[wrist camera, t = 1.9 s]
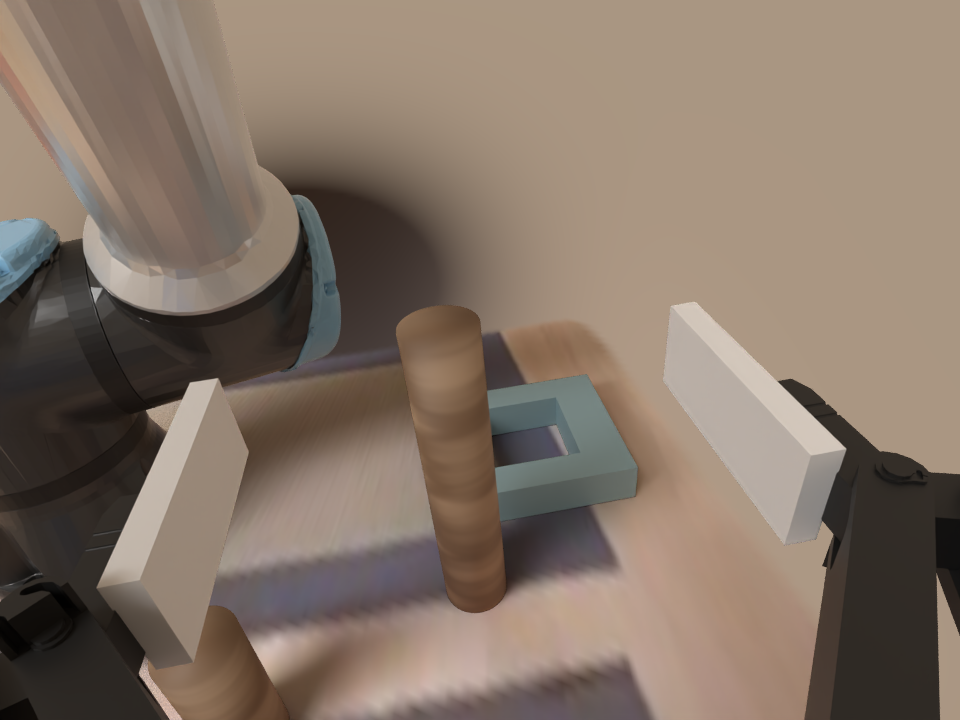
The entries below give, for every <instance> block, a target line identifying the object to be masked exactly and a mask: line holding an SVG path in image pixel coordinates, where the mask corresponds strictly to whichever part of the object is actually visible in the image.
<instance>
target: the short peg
mask: <svg viewBox="0 0 960 720" xmlns="http://www.w3.org/2000/svg"><path fill="white" fill-rule="evenodd" d="M148 671H149V674H150V677H151V678H152V680H153V681H154V682H155V684H156V685H157V686H158V688H159V689H160V690H161V691H162V693H163V694H164V695H165V697H166V698H167V699H168V701H169V702H170V703H171V705H172V706H173V707H174V709H175V710H176V711H177V712H178V714H179V715H180V716H181V718H182V719H183V720H290V718H289V714H288V711H287V709H286V707H285V706H284V704H283V702H282V700H281V698H280V696H279V695H278V693H277V691H276V689H275V687H274V686H273V684H272V682H271V680H270V678H269V676H268V675H267V673H266V671H265V669H264V667H263V666H262V664H261V662H260V660H259V658H258V656H257V655H256V653H255V651H254V649H253V647H252V646H251V644H250V642H249V640H248V638H247V636H246V635H245V633H244V631H243V629H242V627H241V626H240V624H239V622H238V620H237V618H236V617H235V615H234V614H233V613H232V612H231V611H230V610H228V609H227V608H224V607H221V606H208V610H207V613H206V617H205V621H204V625H203V629H202V633H201V636H200V640H199V644H198V648H197V652H196V655H195V659H194V662H193V663H188V664H183V665H178V666H173V667H168V668H163V669H158V670H156V669H155V668H154V666H153V665H152V664H151V662H150V661H149V660H148Z"/></svg>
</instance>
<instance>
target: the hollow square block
mask: <svg viewBox="0 0 960 720" xmlns="http://www.w3.org/2000/svg"><path fill="white" fill-rule="evenodd" d="M487 394H488V404H489V414H490V424H491V434H492V435H498V434H504V433H509V432H515V431H521V430H527V429H533V428H538V427H544V426H550V425H556V424H557V427H558V429H559V432H560V434H561V436H562V439H563V441H564V444H565V446H566V448H567V451H568V453H569V455H564V456H559V457H553V458H547V459H542V460H536V461H530V462H525V463H519V464H514V465H508V466H502V467H497V468H495V473H496V483H497V493H498V503H499V513H500V522H501V521H506V520H511V519H517V518H522V517H528V516H533V515H539V514H544V513H549V512H555V511H560V510H566V509H571V508H576V507H582V506H587V505H593V504H598V503H603V502H609V501H614V500H620V499H625V498H630V497H635V496H636V484H637V473H638V467H637V465H636V463H635V461H634V460H633V458H632V456H631V454H630V452H629V450H628V449H627V447H626V445H625V443H624V441H623V439H622V438H621V436H620V434H619V432H618V430H617V428H616V427H615V425H614V423H613V421H612V419H611V417H610V416H609V414H608V412H607V410H606V408H605V407H604V405H603V403H602V401H601V399H600V397H599V396H598V394H597V392H596V390H595V388H594V386H593V385H592V383H591V381H590V379H589V377H588V375H587V374H585V375H579V376H573V377H567V378H561V379H555V380H549V381H543V382H537V383H531V384H525V385H519V386H513V387H507V388H501V389H495V390H489V391H487Z"/></svg>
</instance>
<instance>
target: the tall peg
mask: <svg viewBox="0 0 960 720" xmlns="http://www.w3.org/2000/svg"><path fill="white" fill-rule="evenodd" d="M396 336H397V341H398V346H399V351H400V356H401V361H402V366H403V371H404V377H405V382H406V387H407V392H408V397H409V402H410V407H411V412H412V417H413V422H414V427H415V433H416V438H417V443H418V448H419V453H420V458H421V463H422V468H423V473H424V478H425V483H426V489H427V494H428V499H429V504H430V509H431V514H432V519H433V524H434V529H435V534H436V540H437V545H438V550H439V555H440V560H441V565H442V570H443V575H444V580H445V585H446V590H447V595H448V598H449V599H450V601H451V602H452V604H453V605H454V606H455V607H457V608H458V609H460V610H462V611H465V612H469V613H480V612H484V611H487V610H490V609H491V608H493V607H495V606H496V605H497V604H498V603H499V602H500V601H501V600H502V598H503V597H504V594H505V592H506V587H507V582H506V572H505V562H504V553H503V543H502V533H501V523H500V513H499V503H498V493H497V483H496V473H495V464H494V454H493V444H492V434H491V424H490V414H489V404H488V394H487V384H486V375H485V365H484V355H483V345H482V335H481V325H480V319H479V317H478V316H477V314H476V313H474V312H473V311H471V310H469V309H467V308H464V307H460V306H452V305H442V306H433V307H428V308H424V309H421V310H418V311H415V312H413V313H411V314H410V315H408V316H406V317H405V318H403V320H402V321H400V323H399V324H398V326H397V328H396Z"/></svg>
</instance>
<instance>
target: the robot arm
mask: <svg viewBox="0 0 960 720" xmlns="http://www.w3.org/2000/svg"><path fill="white" fill-rule="evenodd" d="M0 84H1V85H2V87H3V88H4V90H5V91H6V92H7V94H8V96H9V97H10V98H11V100H12V102H13V103H14V104H15V106H16V107H17V109H18V110H19V112H20V113H21V115H22V116H23V118H24V119H25V121H26V122H27V124H28V125H29V126H30V128H31V129H32V131H33V132H34V134H35V135H36V137H37V138H38V140H39V141H40V142H41V144H42V145H43V147H44V148H45V150H46V151H47V153H48V154H49V156H50V157H51V159H52V160H53V162H54V163H55V165H56V166H57V168H58V169H59V171H60V172H61V173H62V175H63V176H64V178H65V179H66V181H67V182H68V184H69V185H70V187H71V188H72V189H73V191H74V192H75V194H76V196H77V197H78V198H79V200H80V201H81V203H82V204H83V206H84V207H85V209H86V210H87V212H88V213H89V214H88V216H87V219H86V221H85V226H84V230H83V238H82V239H78V240H72V241H67V242H61V241H59V239H60V237H59V235H58V233H57V232H56V230H54V229H51V228H50V226H49V225H48V224H47V223H46V222H45V221H42V220H40V219H35V218H25V219H23V220H16V219H14V220H7V221H3V222H0V599H1V602H0V651H1V652H2V653H0V720H170V719H169V718H168V716H167V715H166V713H165V712H164V711H163V709H162V708H161V706H160V705H159V703H158V702H157V700H156V699H155V697H154V696H153V694H152V693H151V691H150V690H149V688H148V687H147V685H146V684H145V682H144V681H143V680H142V678H141V677H140V676H139V671H140V668H141V665H142V662H143V659H144V656H145V655H146V657H147V658H148V660H149V661H150V662H151V664H152V665H153V666H154V668H155V669H156V670H158V669H163V668H168V667H173V666H178V665H183V664H188V663H193V662H194V659H195V655H196V652H197V648H198V644H199V640H200V636H201V633H202V629H203V625H204V621H205V617H206V613H207V610H208V606H209V602H210V598H211V594H212V591H213V587H214V583H215V579H216V575H217V572H218V568H219V564H220V560H221V556H222V552H223V549H224V545H225V541H226V537H227V533H228V530H229V526H230V522H231V518H232V514H233V511H234V507H235V503H236V499H237V495H238V491H239V488H240V484H241V480H242V476H243V472H244V469H245V465H246V461H247V457H248V453H249V451H248V449H247V446H246V444H245V442H244V439H243V437H242V434H241V432H240V429H239V427H238V425H237V422H236V420H235V417H234V415H233V412H232V410H231V408H230V405H229V403H228V400H227V398H226V396H225V393H224V391H223V387H226V386H230V385H233V384H237V383H240V382H244V381H247V380H250V379H254V378H257V377H261V376H264V375H268V374H271V373H274V372H278V371H281V372H287V371H292V370H294V369H296V368H297V367H298V366H300V365H301V364H304V363H307V362H310V361H313V360H315V359H318V358H321V357H324V356H325V355H327V354H328V353H330V352H331V351H332V349H333V348H334V346H335V345H336V343H337V341H338V338H339V333H340V326H341V314H340V313H341V310H340V299H339V293H338V290H337V287H336V285H335V281H336V275H335V267H334V262H333V258H332V254H331V250H330V246H329V243H328V239H327V236H326V233H325V230H324V227H323V225H322V222H321V220H320V218H319V215H318V213H317V211H316V209H315V208H314V206H313V204H312V203H311V202H310V201H309V200H308V199H307V198H306V197H303V196H301V195H290V194H289V192H288V191H287V189H286V188H285V187H284V186H283V184H282V183H281V181H279V180H278V179H277V178H276V177H275V176H274V175H273V174H271V173H270V172H268V171H267V170H265V169H264V168H262V167H260V166H258V164H257V160H256V156H255V153H254V150H253V145H252V142H251V138H250V134H249V131H248V127H247V123H246V119H245V116H244V112H243V108H242V104H241V101H240V97H239V94H238V90H237V86H236V82H235V79H234V75H233V71H232V68H231V64H230V60H229V56H228V53H227V49H226V45H225V41H224V38H223V34H222V31H221V27H220V23H219V19H218V16H217V12H216V8H215V4H214V1H213V0H0ZM663 382H664V383H665V384H666V386H667V387H668V389H669V390H670V391H671V393H672V394H673V395H674V397H675V398H676V399H677V401H678V402H679V403H680V405H681V406H682V407H683V409H684V410H685V412H686V413H687V414H688V416H689V417H690V418H691V420H692V421H693V422H694V424H695V425H696V426H697V428H698V429H699V430H700V432H701V433H702V434H703V436H704V437H705V439H706V440H707V441H708V443H709V444H710V445H711V447H712V448H713V449H714V451H715V452H716V454H717V455H718V456H719V457H720V459H721V460H722V462H723V463H724V464H725V466H726V467H727V468H728V470H729V471H730V472H731V474H732V475H733V476H734V478H735V479H736V481H737V482H738V483H739V485H740V486H741V487H742V489H743V490H744V491H745V493H746V494H747V495H748V497H749V498H750V499H751V501H752V502H753V504H754V505H755V506H756V508H757V509H758V510H759V512H760V513H761V514H762V516H763V517H764V518H765V520H766V521H767V522H768V524H769V525H770V526H771V528H772V529H773V531H774V532H775V533H776V534H777V536H778V537H779V539H780V540H781V541H782V543H783V544H784V545H790V544H795V543H799V542H805V541H809V540H815V539H816V538H817V535H818V532H819V529H820V526H821V523H822V521H823V522H824V523H825V524H826V526H827V527H828V528H829V529H830V530H831V531H832V533H833V534H834V535H833V538H832V540H831V544H830V546H829V549H828V552H827V554H826V558H825V560H824V563H823V565H822V566H824V567H827V569H826V577H825V583H824V590H823V597H822V604H821V610H820V617H819V624H818V631H817V638H816V645H815V651H814V658H813V665H812V672H811V679H810V686H809V692H808V699H807V706H806V713H805V720H940V703H939V662H938V623H937V622H938V621H937V579H936V573H937V575H938V578H939V581H940V583H941V586H942V589H943V591H944V594H945V597H946V600H947V602H948V605H949V607H950V610H951V613H952V616H953V619H954V621H955V624H956V627H957V629H958V632H959V634H960V474H946V473H931V472H928V471H927V470H926V469H925V468H924V466H922V465H921V464H919V463H917V462H916V461H914V460H913V459H911V458H908V457H905V456H903V455H900V454H897V453H890V452H884V451H882V452H880V451H879V450H877V449H876V448H875V447H874V446H873V445H872V444H871V443H870V442H869V441H868V440H867V439H865V438H864V437H863V436H862V435H861V434H860V433H859V432H858V431H857V430H856V429H855V428H853V427H852V426H851V425H850V424H849V423H848V422H847V421H846V420H845V419H844V418H842V417H841V416H840V415H837V412H836V411H835V410H834V409H833V408H831V406H829V405H826V404H825V401H824V400H823V399H822V398H821V397H820V396H819V395H817V394H816V393H815V392H814V391H813V390H812V389H810V388H808V387H807V386H805V385H803V384H801V383H799V382H797V381H795V380H793V379H788V380H782V381H776V380H775V379H774V378H773V377H772V376H771V375H770V374H769V373H768V372H767V371H766V370H765V369H764V368H763V367H762V366H761V365H760V364H759V363H758V362H757V361H756V360H755V359H754V358H753V357H751V355H749V353H748V352H746V351H745V350H744V349H743V348H742V347H741V346H740V345H739V344H738V343H737V342H736V341H735V340H734V339H733V338H732V337H731V336H730V335H729V334H728V333H727V332H726V331H725V330H724V329H723V328H722V327H721V326H720V325H719V324H718V323H717V322H715V320H713V318H712V317H711V316H709V315H708V314H707V313H706V312H705V311H704V310H703V309H702V308H701V307H700V306H699V305H698V304H697V303H696V302H690V303H685V304H678V305H672V306H671V307H670V317H669V327H668V337H667V347H666V358H665V367H664V378H663ZM178 400H182V401H181V404H180V406H179V408H178V410H177V412H176V415H175V417H174V419H173V421H172V423H171V426H170V428H169V430H168V432H166V431H165V430H164V429H163V428H161V427H160V426H159V425H158V424H157V423H155V422H154V421H153V420H152V419H151V418H150V417H149V415H148V414H147V412H146V410H148V409H151V408H155V407H158V406H161V405H165V404H168V403H171V402H175V401H178Z"/></svg>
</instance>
